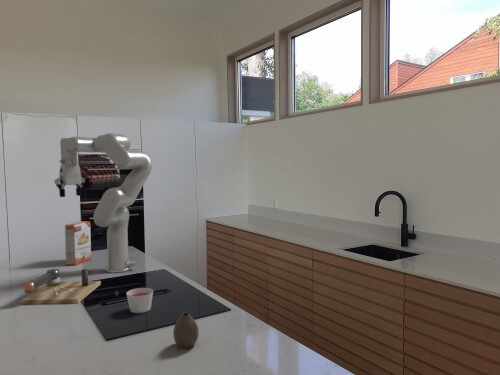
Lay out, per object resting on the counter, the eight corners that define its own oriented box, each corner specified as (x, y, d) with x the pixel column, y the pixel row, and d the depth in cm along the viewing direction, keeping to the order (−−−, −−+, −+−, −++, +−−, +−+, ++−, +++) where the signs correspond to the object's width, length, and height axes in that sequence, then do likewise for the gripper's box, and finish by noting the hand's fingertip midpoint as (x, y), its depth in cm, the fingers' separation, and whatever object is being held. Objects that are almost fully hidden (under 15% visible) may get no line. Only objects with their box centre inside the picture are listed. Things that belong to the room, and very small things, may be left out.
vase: (175, 340, 114) (174, 310, 113) (199, 338, 114) (198, 309, 114) (172, 351, 107) (171, 319, 106) (198, 350, 107) (197, 318, 107)
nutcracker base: (100, 284, 169) (99, 265, 168) (78, 303, 146) (77, 281, 145) (51, 285, 168) (50, 266, 168) (20, 304, 145) (19, 282, 145)
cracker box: (76, 265, 202) (74, 224, 201) (65, 265, 203) (63, 224, 202) (92, 259, 216) (90, 220, 214) (82, 258, 217) (80, 220, 216)
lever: (50, 276, 166) (50, 268, 166) (60, 276, 166) (60, 268, 166) (21, 292, 145) (20, 284, 144) (33, 292, 145) (33, 284, 144)
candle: (158, 306, 141) (158, 289, 141) (144, 315, 132) (143, 297, 132) (137, 304, 144) (136, 287, 143) (121, 313, 135) (120, 294, 135)
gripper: (59, 162, 192) (60, 197, 193) (88, 162, 207) (89, 195, 208) (49, 162, 195) (50, 197, 196) (78, 162, 211) (80, 194, 212)
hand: (70, 196), depth 202 cm, fingers open, 9 cm apart
